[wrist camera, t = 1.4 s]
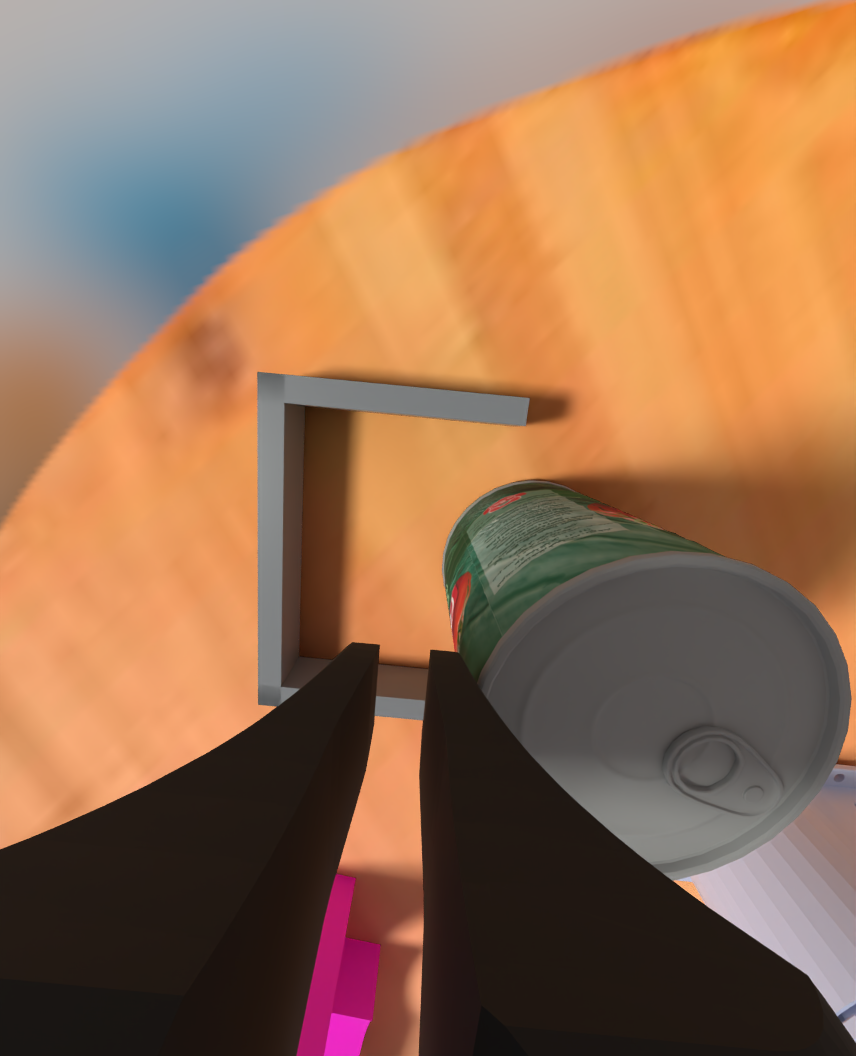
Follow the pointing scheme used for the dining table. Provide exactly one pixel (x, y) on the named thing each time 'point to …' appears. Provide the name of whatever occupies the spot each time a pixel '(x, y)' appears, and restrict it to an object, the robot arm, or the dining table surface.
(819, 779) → the canned tomato
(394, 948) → the dining table surface
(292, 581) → the box
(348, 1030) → the toy block
